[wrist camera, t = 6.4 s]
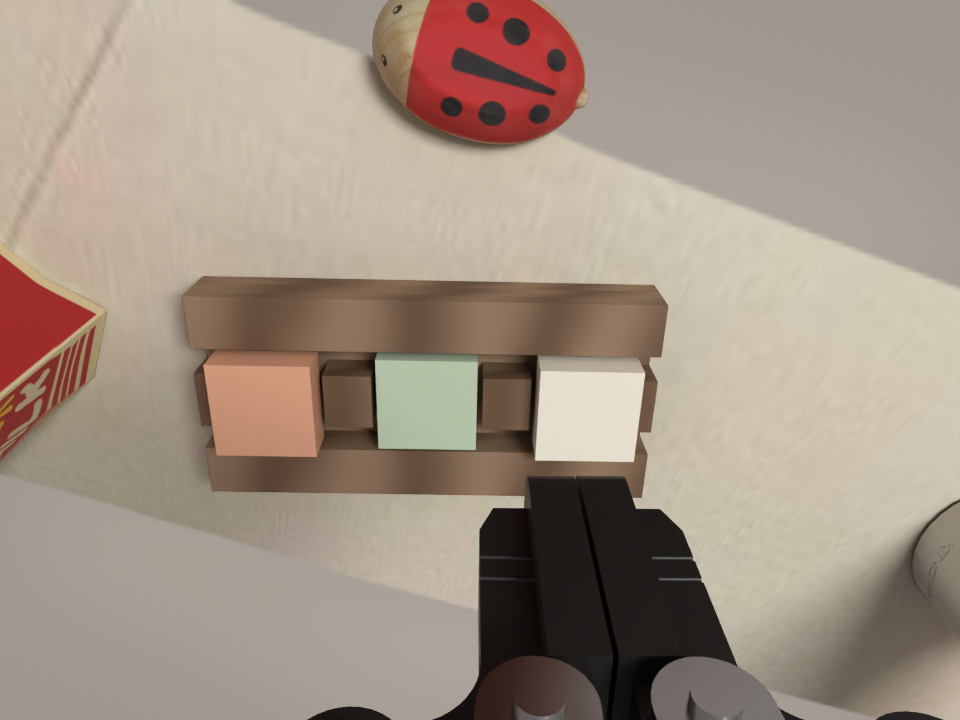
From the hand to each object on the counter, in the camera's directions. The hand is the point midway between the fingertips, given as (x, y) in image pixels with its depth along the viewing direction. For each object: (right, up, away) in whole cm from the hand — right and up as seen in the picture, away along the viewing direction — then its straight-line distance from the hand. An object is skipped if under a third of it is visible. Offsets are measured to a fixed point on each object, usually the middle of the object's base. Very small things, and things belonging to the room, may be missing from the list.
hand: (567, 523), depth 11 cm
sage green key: (-4, +1, +27) cm, 27 cm away
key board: (-4, +2, +28) cm, 29 cm away
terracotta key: (-12, +1, +26) cm, 29 cm away
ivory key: (+4, +1, +26) cm, 27 cm away
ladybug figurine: (-1, +16, +22) cm, 27 cm away
